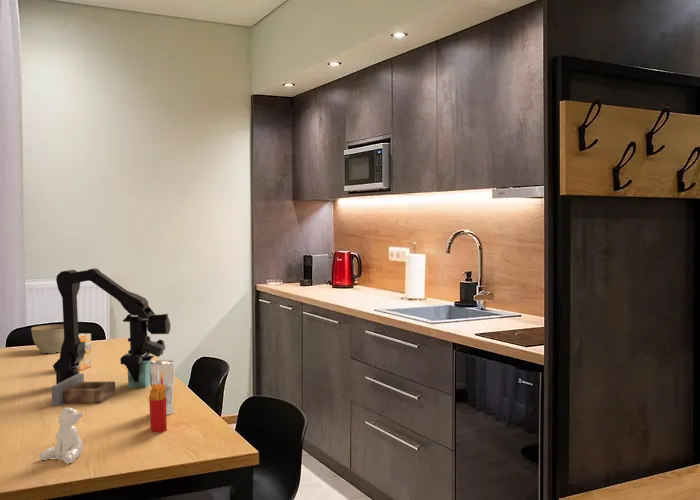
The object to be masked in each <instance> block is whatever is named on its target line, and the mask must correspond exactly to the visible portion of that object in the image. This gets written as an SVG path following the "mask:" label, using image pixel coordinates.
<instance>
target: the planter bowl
mask: <svg viewBox="0 0 700 500" xmlns="http://www.w3.org/2000/svg"><path fill="white" fill-rule="evenodd" d="M30 331H31V336H32V337H31V338H32V341H33V343H34V344H35V346H36V348H37V349H38V350H39V352H41V353H40V354H46V353H48V354H57V353H56V352H59V353H60V352H61V347H62V344H63V341H64V325H63V324H45V325H38V326H33V327H31V328H30Z"/></svg>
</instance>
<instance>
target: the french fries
mask: <svg viewBox="0 0 700 500" xmlns="http://www.w3.org/2000/svg"><path fill="white" fill-rule="evenodd" d="M165 391H166V388H165V385H162V384H161V385H160V386H159V384H158V385H157V384H153V385H152V388H151V389H150V390H149V396H148V399H149V421H150V431H151V432H152V431H153V432H152V433H155V432H159V433H165V432H166V431H167V427H168V426H167V425H168V423H167V415H166V397H165ZM164 431H165V432H164Z"/></svg>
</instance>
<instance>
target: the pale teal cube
mask: <svg viewBox="0 0 700 500" xmlns="http://www.w3.org/2000/svg"><path fill="white" fill-rule="evenodd" d="M142 362H144V363H143V364H142V365H141V366H140V373H139V381H138V382H135V381H134V379H133V378H132V376H131V374H130V372H129V370H128V369H127V384H128V385H127V386H128V389H134V388H135V389H137V388H138V389H140V388H142V389H144V388H145V389H146V388H148V387H149V386H151V383H150V363H151V362H152V360H150V361H142Z"/></svg>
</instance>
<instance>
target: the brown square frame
mask: <svg viewBox="0 0 700 500" xmlns="http://www.w3.org/2000/svg"><path fill="white" fill-rule="evenodd" d="M114 395H116V381H84V382H79V383H77V384H75V385H73V386H71V387H69V388H67V389H66V390H64V403H63V404H102V403H103V402H104V401H107V400H108V399H109V398H111V397H113V396H114Z"/></svg>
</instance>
